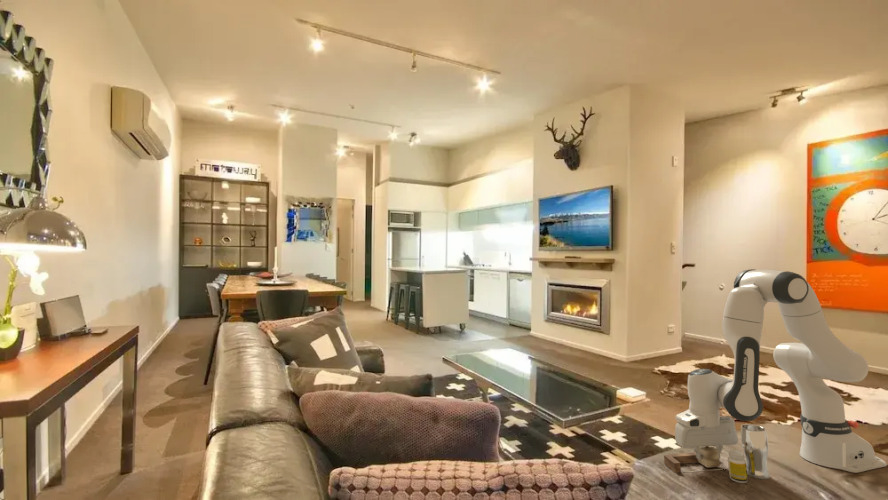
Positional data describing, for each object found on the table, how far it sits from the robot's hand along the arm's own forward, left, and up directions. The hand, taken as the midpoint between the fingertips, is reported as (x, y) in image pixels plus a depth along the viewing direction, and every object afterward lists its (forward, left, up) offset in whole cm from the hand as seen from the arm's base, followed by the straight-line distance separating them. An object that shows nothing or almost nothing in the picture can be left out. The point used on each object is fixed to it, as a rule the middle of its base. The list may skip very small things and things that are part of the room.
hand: (708, 458), depth 138 cm
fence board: (+4, -1, -3) cm, 5 cm away
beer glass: (-11, +8, -3) cm, 14 cm away
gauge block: (0, 0, -2) cm, 2 cm away
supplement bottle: (-3, +10, -3) cm, 10 cm away
